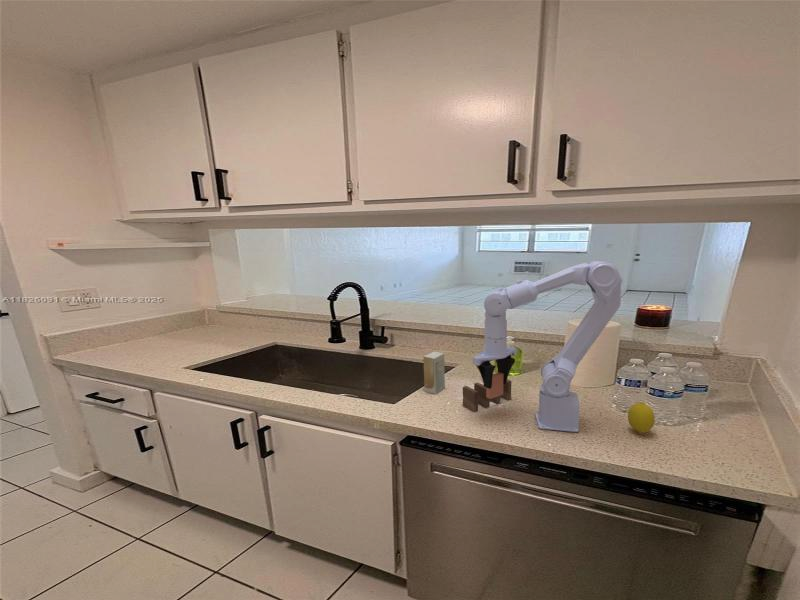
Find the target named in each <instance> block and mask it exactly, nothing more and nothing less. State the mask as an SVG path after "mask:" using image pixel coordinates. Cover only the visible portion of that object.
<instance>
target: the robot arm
mask: <svg viewBox="0 0 800 600" xmlns="http://www.w3.org/2000/svg"><path fill="white" fill-rule="evenodd" d="M622 283H623V278H622V275H621V273H620V271H619V269H618V267H616V266H615V264H613V263H610V262H606V261H604V260H601V259H593V260H590V261H588V262H584V263H580V264H576V265H572V266H570V267H567V268H565V269H563V270H561V271H558V272H556V273H553V274H551V275H548V276H546V277H544V278H541V279H539V280H536V281H534V282H533V281H532V280H529V279H524V280H523V279H518V280H516V283H514V284H512V285H509V286H507V287H499V288H498V290H499V291H497V290H496V291H490V292H489V293H488V294H487V296H486V298H485V299H484V303H483V307H484V310H485V312H484V318H485V319H484V348H483V349H482V352H480V353H479V354H476V355H474V356H472V364H473V365H475V366H476V368H477V370H478V371H479V373H480V376H481V380H482V383H483V384H482V385H484V387H486V388H488V389H490V388H491V387H492V377H493V374H494V371H495V368H496V366H497V373H499V372H500V373H503V374H504V379H503V384H506V381H507V379H508V377H509V373H510V372H511V369H512V367H513V365H514V364H515V363H516V358H514V357H515V356H517V353H518V349H517V348H515V347H512V346H511V347H507V343H508V342H507V339H508V338H507V337H508V336H507V335H508V334H507V333H508V319H506V318H507V310H512V309H516V308H519V307H521V306H524V305H527V304H530V303H532V302H535V301H536V300H537V298H538V295H540V294H542V293H546V292H549V291H552V290H554V289H558V288H561V287H564V286H567V285H570V284H575V285H579V286H588V287H589V289H590V291H591V294H592V297H593V300H594V302H593V304H592V305H591V307H590V308H589V309H588V311H587V313H586V314H585V315H584V317H583V318H582V319H581V321H580V323H579V324H578V326H577V327H576V328H575V329H574V331H573V333H572V334H571V336H569V339H567V342H566V343H565V344H564V346H563V347H562V349H561V350H560V352H559V353H557V354H555V355H554V356H553V357H552V359H551V360H549V361H547V362H546V363H544V364H543V365H542V367H541V370H540V375H541V378H542V384H541V385H540V386H539V394H538V397H539V398H538V399H539V400H538V412H535V418H536V423H537V427H538V429H541V430H550V431H551V430H552V431H559V432H561V431H562V432H572V433H573V432H574V433H579V430H580V429H579V422H580V420H579V419H580V400H579V394H578V393H577V392H575V391H570V390H571V382H572V380H573V379H574V378H575V376H576V371H577V368H578V366H579V364H580V363H581V361H582V360H583V359H584V357H585V356H586V354H587V353H588V351H589V350H590V349H591V347H592V346H593V344H594V343H595V342H596V340H597V339H598V337H599V336H600V335H601V333H602V332H603V331H604V330H605V328H606V326H607V325H608V324H609V322H610V321H611V319H613V317H614V316H615V314H616V313H617V311H618V310H619V309H620V306H621V298H622V297H621V295H622V293H621V292H622V291H621V290H622V289H621V288H622ZM512 356H514V357H512ZM492 361H493V362H494V361H496V362H495V363H496V365H494V364H492Z"/></svg>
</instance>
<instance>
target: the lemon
mask: <svg viewBox="0 0 800 600" xmlns="http://www.w3.org/2000/svg"><path fill="white" fill-rule="evenodd" d="M655 418H656V417H655V413H654V410H653V408H651V407H650V405H648V404H646V403H645V402H643V401H641V402H636V403H634V404H632V405H631V406H630V407H629V409H628V411H627V420H628V424H629V426H631V428H632V429H634V430H635V431H636V432H637V433H639V434H642V433H646V432H649V431H651V430H652V428H654V425H655V420H656V419H655Z"/></svg>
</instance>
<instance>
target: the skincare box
mask: <svg viewBox="0 0 800 600" xmlns="http://www.w3.org/2000/svg"><path fill="white" fill-rule="evenodd" d="M445 375H446V374H445V353H444V352H439V351H432V352H430V353H426V354H425V355H423V380H424V381H423V383H424V384H423V385H424V386H423V387H424V388H423V389H424V392H425V393H429V394H433V395H436V394H438V393H440V392H441V391H443V390H444V389H445V388H446V380H445V377H446V376H445Z"/></svg>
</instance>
